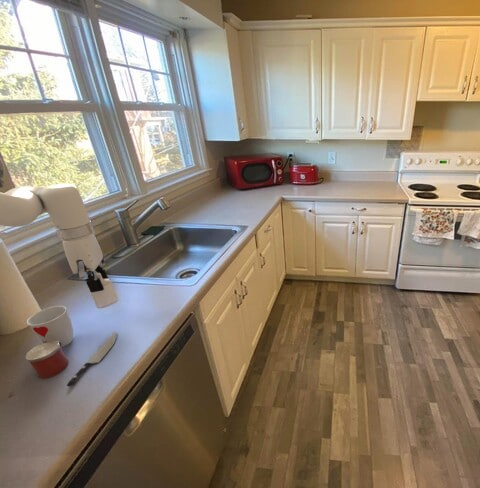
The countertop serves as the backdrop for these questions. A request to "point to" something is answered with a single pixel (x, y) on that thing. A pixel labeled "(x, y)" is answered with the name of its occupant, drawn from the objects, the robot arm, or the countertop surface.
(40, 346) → the spice tin
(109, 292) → the eye dropper bottle
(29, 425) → the countertop surface
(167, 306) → the countertop surface
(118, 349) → the countertop surface
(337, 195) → the countertop surface
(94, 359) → the chef's knife
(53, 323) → the cup
